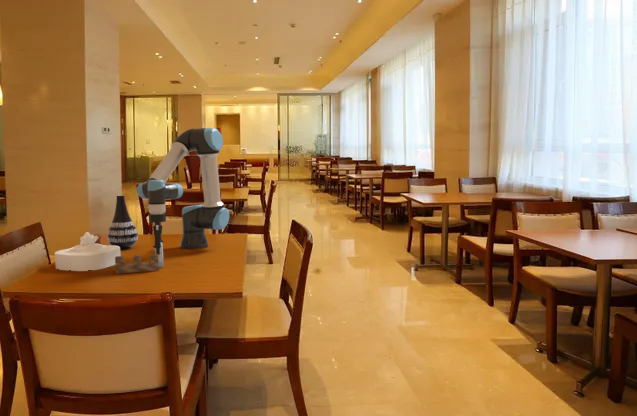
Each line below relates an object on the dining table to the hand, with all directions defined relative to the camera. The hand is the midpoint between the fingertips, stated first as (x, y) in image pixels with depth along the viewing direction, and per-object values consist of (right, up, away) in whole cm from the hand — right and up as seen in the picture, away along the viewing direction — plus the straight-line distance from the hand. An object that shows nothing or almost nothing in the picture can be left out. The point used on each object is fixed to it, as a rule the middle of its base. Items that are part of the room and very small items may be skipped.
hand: (158, 259), depth 245 cm
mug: (-43, -1, +28) cm, 51 cm away
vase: (-33, +1, +46) cm, 57 cm away
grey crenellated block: (-6, -4, -11) cm, 13 cm away
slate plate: (0, -3, +1) cm, 3 cm away
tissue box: (-35, -3, +5) cm, 35 cm away
